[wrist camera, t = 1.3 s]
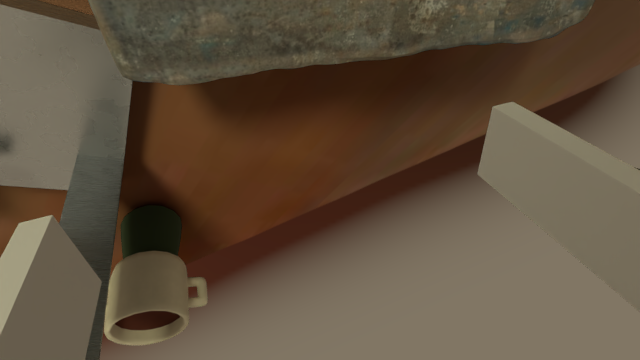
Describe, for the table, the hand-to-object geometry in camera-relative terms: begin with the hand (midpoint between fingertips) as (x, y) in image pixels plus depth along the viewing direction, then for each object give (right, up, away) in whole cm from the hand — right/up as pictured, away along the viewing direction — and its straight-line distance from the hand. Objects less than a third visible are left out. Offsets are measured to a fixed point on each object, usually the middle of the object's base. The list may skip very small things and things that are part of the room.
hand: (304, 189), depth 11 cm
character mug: (-19, -4, +30) cm, 36 cm away
